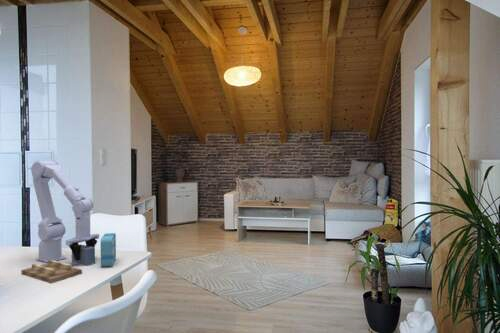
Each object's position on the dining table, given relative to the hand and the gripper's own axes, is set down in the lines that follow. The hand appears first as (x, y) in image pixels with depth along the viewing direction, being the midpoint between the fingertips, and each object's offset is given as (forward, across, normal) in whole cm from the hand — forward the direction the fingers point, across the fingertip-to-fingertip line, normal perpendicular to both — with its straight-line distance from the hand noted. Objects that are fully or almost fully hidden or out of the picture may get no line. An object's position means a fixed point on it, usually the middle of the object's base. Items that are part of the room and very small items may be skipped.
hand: (83, 258), depth 149 cm
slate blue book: (+2, 0, 0) cm, 2 cm away
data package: (+2, +5, -10) cm, 11 cm away
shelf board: (+2, -15, -2) cm, 15 cm away
